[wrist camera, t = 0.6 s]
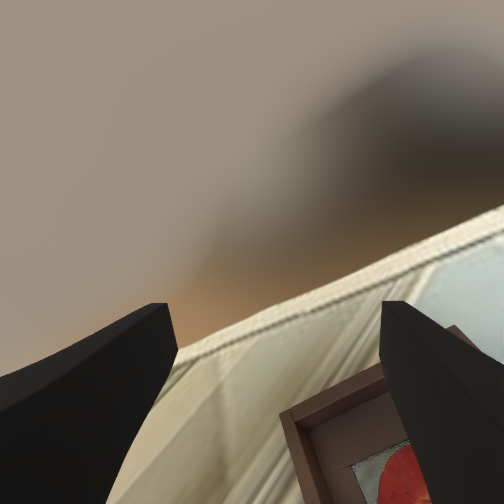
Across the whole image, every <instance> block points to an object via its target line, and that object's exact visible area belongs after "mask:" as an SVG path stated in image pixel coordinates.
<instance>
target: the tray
mask: <svg viewBox="0 0 504 504" xmlns="http://www.w3.org/2000/svg"><path fill="white" fill-rule="evenodd" d="M446 330H448V331H449V332H451V333H452V334H454V335H456V336H457V337H459V338H460V339H462V340H463V341H465V342H466V343H468V344H470V345H471V346H473V347H474V348H476V349H478V348H477V347H476V346H475V345H474V344H473V343H472V342H471V341H470V340H469V339H468V338H467V337H466V336H465V335H464V334H463V332H462V331H461V330H460V329H459V328H458V327H457V326H456V325H452V326H450V327H449V328H447V329H446ZM478 350H479V349H478ZM479 351H480V350H479ZM279 416H280V419H281V423H282V426H283V430H284V433H285V437H286V440H287V443H288V447H289V450H290V454H291V457H292V460H293V464H294V467H295V471H296V474H297V477H298V481H299V484H300V488H301V491H302V495H303V498H304V501H305V504H367V503H366V501H365V498H364V496H363V494H362V491H361V489H360V487H359V484H358V482H357V480H356V477H355V475H354V473H353V470H352V468H351V465H353V464H355V463H358V462H360V461H362V460H364V459H366V458H368V457H371V456H373V455H375V454H377V453H379V452H381V451H384V450H386V449H388V448H390V447H392V446H394V445H396V444H399V443H401V442H403V441H405V440H407V439H408V437H407V434H406V432H405V429H404V427H403V424H402V422H401V419H400V417H399V414H398V412H397V409H396V407H395V404H394V402H393V399H392V397H391V394H390V392H389V389H388V387H387V384H386V380H385V376H384V373H383V369H382V365H381V362H380V363H378V364H376V365H374V366H372V367H370V368H368V369H366V370H364V371H362V372H360V373H358V374H356V375H354V376H352V377H350V378H348V379H346V380H344V381H342V382H340V383H338V384H337V385H335V386H333V387H331V388H329V389H327V390H325V391H323V392H321V393H319V394H317V395H315V396H313V397H311V398H309V399H307V400H305V401H303V402H301V403H299V404H297V405H295V406H293V407H291V408H290V409H288V410H286V411H284V412H282V413H280V414H279Z"/></svg>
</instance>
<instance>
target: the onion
mask: <svg viewBox="0 0 504 504" xmlns="http://www.w3.org/2000/svg"><path fill="white" fill-rule="evenodd" d="M377 503H378V504H432V503H431V500H430V497H429V494H428V490H427V487H426V484H425V481H424V478H423V475H422V473H421V470H420V467H419V464H418V462H417V459H416V457H415V454H414V452H413V449H412V447H411V445H406V446H404V447H403V448H402V449H400V450H399V451H398V452H396V453H395V454H394V455H392V456H391V457H390V458H389V460H388V462H387V464H386V466H385V468H384V470H383V472H382V474H381V477H380V484H379V492H378V500H377Z"/></svg>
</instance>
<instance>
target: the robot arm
mask: <svg viewBox="0 0 504 504" xmlns="http://www.w3.org/2000/svg"><path fill="white" fill-rule="evenodd" d="M177 352H178V347H177V343H176V339H175V334H174V330H173V325H172V321H171V317H170V312H169V308H168V305H167V303H151V304H149V305H146V306H144V307H142V308H140V309H138V310H136V311H134V312H132V313H130V314H128V315H126V316H125V317H123V318H121V319H119V320H117V321H116V322H114V323H112V324H110V325H109V326H107V327H105V328H103V329H101V330H99V331H98V332H96V333H94V334H92V335H90V336H88V337H86V338H84V339H82V340H80V341H79V342H77V343H75V344H73V345H71V346H69V347H67V348H65V349H63V350H61V351H59V352H57V353H55V354H53V355H51V356H49V357H46V358H45V359H42V360H40V361H38V362H35V363H33V364H31V365H29V366H26V367H24V368H22V369H19V370H17V371H15V372H12V373H10V374H7V375H4V376H2V377H0V504H106V501H107V499H108V496H109V494H110V491H111V489H112V487H113V484H114V482H115V480H116V477H117V475H118V473H119V471H120V468H121V466H122V464H123V461H124V459H125V457H126V455H127V453H128V451H129V449H130V447H131V445H132V443H133V441H134V439H135V437H136V435H137V433H138V431H139V430H140V428H141V426H142V424H143V422H144V420H145V419H146V417H147V415H148V413H149V411H150V409H151V408H152V406H153V404H154V402H155V400H156V399H157V397H158V395H159V393H160V391H161V389H162V387H163V386H164V384H165V382H166V380H167V378H168V376H169V373H170V371H171V368H172V366H173V363H174V361H175V358H176V355H177ZM379 357H380V361H381V365H382V369H383V373H384V376H385V380H386V384H387V387H388V389H389V392H390V394H391V397H392V399H393V402H394V404H395V407H396V409H397V412H398V414H399V417H400V419H401V422H402V424H403V427H404V429H405V432H406V434H407V437H408V439H409V442H410V444H411V447H412V449H413V452H414V454H415V457H416V459H417V462H418V464H419V467H420V470H421V473H422V475H423V478H424V481H425V484H426V487H427V490H428V494H429V497H430V500H431V503H432V504H504V365H503V364H501V363H500V362H498V361H496V360H495V359H493V358H491V357H490V356H488V355H486V354H484V353H483V352H481V351H479V350H478V349H476V348H474V347H473V346H471V345H470V344H468V343H466V342H465V341H463V340H462V339H460V338H459V337H457V336H456V335H454V334H452V333H451V332H449V331H448V330H446V329H445V328H443V327H442V326H440V325H439V324H438V323H436V322H435V321H433V320H432V319H430V318H429V317H427V316H426V315H424V314H423V313H421V312H420V311H418V310H417V309H416V308H414V307H413V306H411V305H409V304H408V303H406V302H404V301H382V313H381V329H380V345H379Z"/></svg>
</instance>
